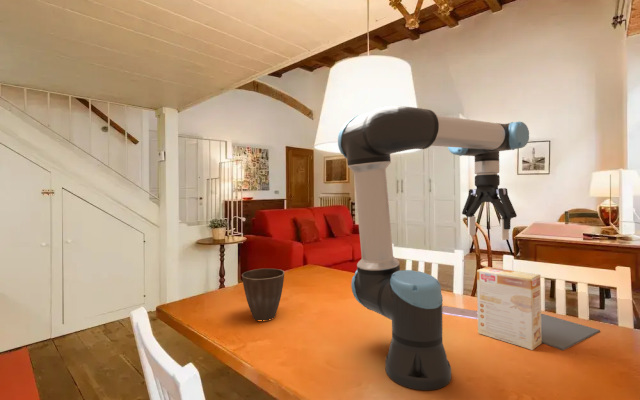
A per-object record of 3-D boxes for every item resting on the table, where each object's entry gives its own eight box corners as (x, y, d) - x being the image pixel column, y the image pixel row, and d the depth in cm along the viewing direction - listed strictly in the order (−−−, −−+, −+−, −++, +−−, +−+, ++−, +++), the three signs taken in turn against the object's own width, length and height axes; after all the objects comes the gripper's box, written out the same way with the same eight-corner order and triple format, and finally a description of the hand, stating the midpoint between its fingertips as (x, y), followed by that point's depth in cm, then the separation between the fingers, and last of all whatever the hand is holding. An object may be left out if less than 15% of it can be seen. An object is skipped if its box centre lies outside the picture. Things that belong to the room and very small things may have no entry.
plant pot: (294, 315, 119) (293, 271, 118) (265, 329, 106) (263, 280, 106) (264, 307, 127) (262, 266, 127) (234, 320, 115) (232, 275, 114)
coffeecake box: (542, 343, 92) (541, 274, 92) (532, 351, 88) (531, 278, 88) (487, 327, 104) (487, 265, 104) (477, 333, 100) (476, 269, 99)
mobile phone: (442, 304, 123) (487, 311, 116) (442, 307, 123) (487, 314, 116) (438, 311, 117) (485, 318, 109) (438, 314, 117) (485, 321, 109)
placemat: (563, 350, 88) (563, 348, 88) (486, 323, 107) (486, 321, 107) (599, 331, 99) (599, 329, 99) (524, 310, 118) (524, 308, 118)
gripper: (529, 172, 101) (529, 241, 101) (467, 176, 124) (468, 232, 124) (511, 171, 98) (511, 242, 98) (451, 176, 122) (452, 233, 122)
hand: (487, 237), depth 111 cm, fingers open, 13 cm apart
